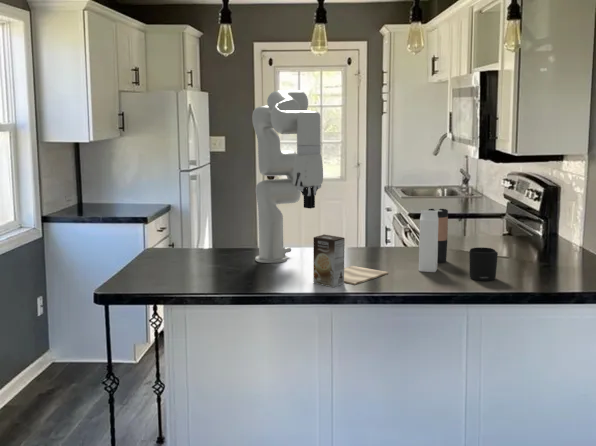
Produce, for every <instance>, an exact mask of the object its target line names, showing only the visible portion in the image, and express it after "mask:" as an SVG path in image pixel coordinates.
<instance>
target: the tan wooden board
mask: <svg viewBox="0 0 596 446" xmlns="http://www.w3.org/2000/svg"><path fill="white" fill-rule="evenodd" d="M388 274H389V271H385V270H378V269H372V268H367V267H360V266H356V265H350V266H346V267H344V284H349V285H354V286H355V285H356V286H357V285H359V284H362V283H364V282H368V281H371V280H373V279H376V278H380V277H383V276H386V275H388Z"/></svg>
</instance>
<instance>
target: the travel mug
mask: <svg viewBox="0 0 596 446" xmlns="http://www.w3.org/2000/svg"><path fill="white" fill-rule="evenodd" d="M428 210H431V211H438V257H437V264H443V263H446V262H447V256H448V231H449V228H448V227H449V225H448V224H449V220H448V218H449V210H448V209H447V208H439V209H435V208H429V209H428Z"/></svg>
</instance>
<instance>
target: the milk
mask: <svg viewBox="0 0 596 446" xmlns="http://www.w3.org/2000/svg"><path fill="white" fill-rule="evenodd" d="M418 234H419V238H418V240H419V241H418V243H419V244H418V246H419V247H418V272H422V273H423V272H426V273H436V272H437V270H438V263H437V257H438V211H431V210H429V209H427V210H426V209H423V210H422V209H421V211H420V217H419V233H418Z"/></svg>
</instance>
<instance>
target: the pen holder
mask: <svg viewBox="0 0 596 446" xmlns="http://www.w3.org/2000/svg"><path fill="white" fill-rule="evenodd" d="M468 254H469V278H470V279H471V280H473V281H479V282H491V281H495V279H496V276H497V265H498V254H499V253H498V252H497V251H496V250H495V249H494V248H491V247H473V248H472V247H471V248H470V249H469V253H468Z"/></svg>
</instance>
